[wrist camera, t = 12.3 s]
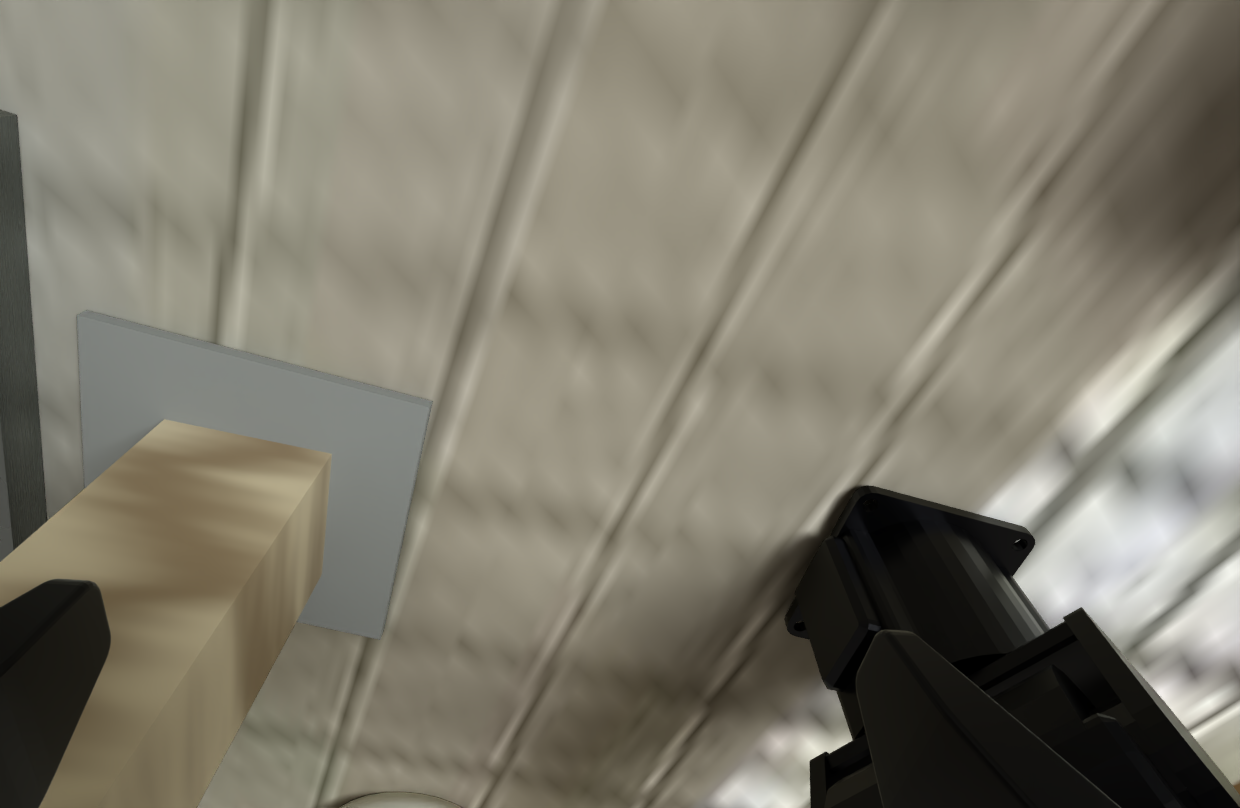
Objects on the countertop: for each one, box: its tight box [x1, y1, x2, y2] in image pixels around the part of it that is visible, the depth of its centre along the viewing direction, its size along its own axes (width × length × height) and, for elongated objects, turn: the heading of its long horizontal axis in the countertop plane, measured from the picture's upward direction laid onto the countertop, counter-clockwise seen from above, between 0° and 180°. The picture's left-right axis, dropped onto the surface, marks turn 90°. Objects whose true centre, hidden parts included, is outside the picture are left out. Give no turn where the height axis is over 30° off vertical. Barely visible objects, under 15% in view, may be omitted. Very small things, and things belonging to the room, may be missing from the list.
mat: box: [77, 310, 433, 640], centre depth 23 cm, size 10×10×1 cm
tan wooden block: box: [0, 419, 332, 808], centre depth 17 cm, size 5×5×13 cm
